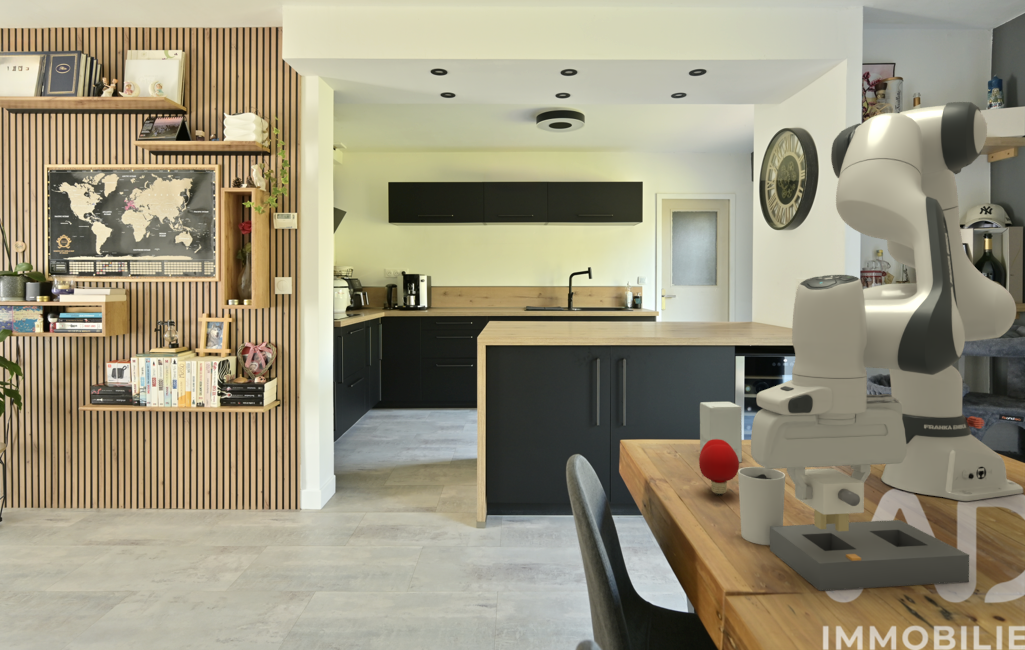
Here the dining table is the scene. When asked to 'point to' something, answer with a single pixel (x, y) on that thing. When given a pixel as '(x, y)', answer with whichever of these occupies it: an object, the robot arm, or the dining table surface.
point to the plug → (833, 497)
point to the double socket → (868, 555)
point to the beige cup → (760, 502)
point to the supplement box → (721, 424)
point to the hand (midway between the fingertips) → (828, 497)
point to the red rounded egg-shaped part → (718, 464)
